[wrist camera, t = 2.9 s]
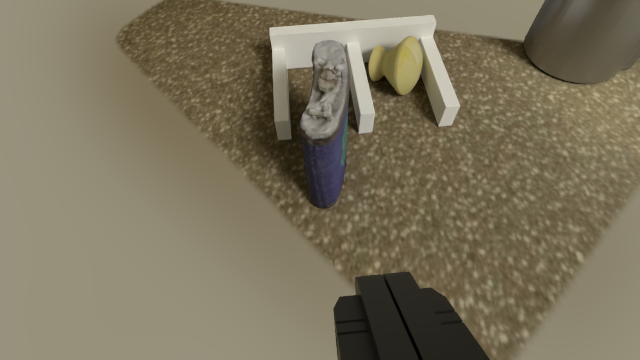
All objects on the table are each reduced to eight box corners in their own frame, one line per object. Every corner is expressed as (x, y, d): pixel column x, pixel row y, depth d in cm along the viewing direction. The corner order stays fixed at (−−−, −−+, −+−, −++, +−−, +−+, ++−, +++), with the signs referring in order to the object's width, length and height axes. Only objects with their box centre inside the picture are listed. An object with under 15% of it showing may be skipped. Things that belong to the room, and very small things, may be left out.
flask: (317, 120, 33) (312, 13, 24) (349, 122, 33) (357, 14, 24) (305, 209, 28) (294, 119, 19) (342, 212, 28) (349, 122, 19)
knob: (424, 74, 36) (437, 30, 31) (403, 108, 33) (414, 66, 29) (381, 59, 37) (388, 15, 33) (358, 90, 35) (362, 47, 31)
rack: (423, 49, 38) (433, 14, 34) (451, 125, 32) (465, 92, 29) (275, 61, 37) (269, 27, 34) (278, 140, 32) (271, 109, 28)
